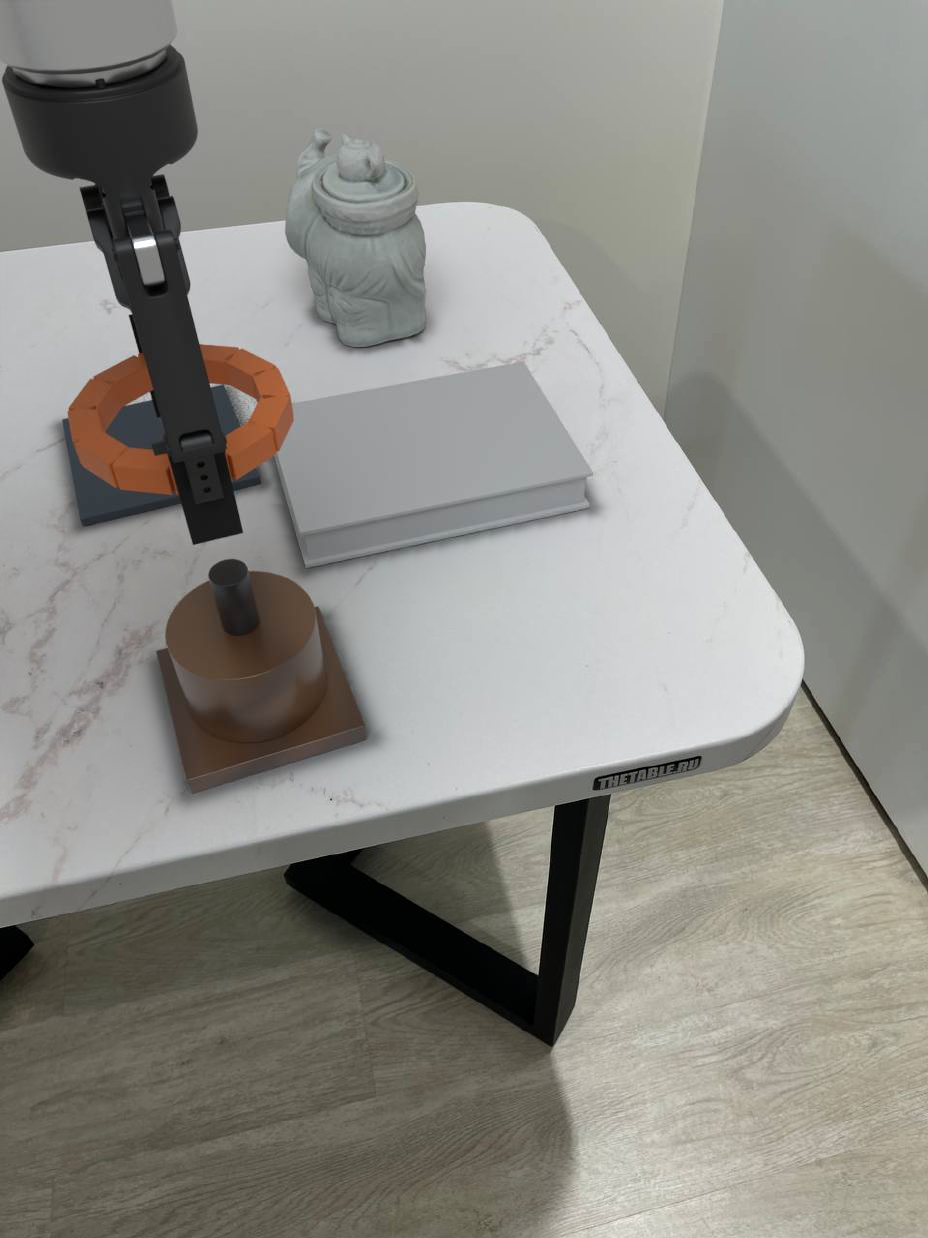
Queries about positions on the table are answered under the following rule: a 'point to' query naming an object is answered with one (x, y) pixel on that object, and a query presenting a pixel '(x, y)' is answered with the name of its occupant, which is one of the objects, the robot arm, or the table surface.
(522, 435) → the book
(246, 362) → the ring
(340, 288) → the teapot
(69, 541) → the table surface
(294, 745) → the ring stand
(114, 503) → the mat
